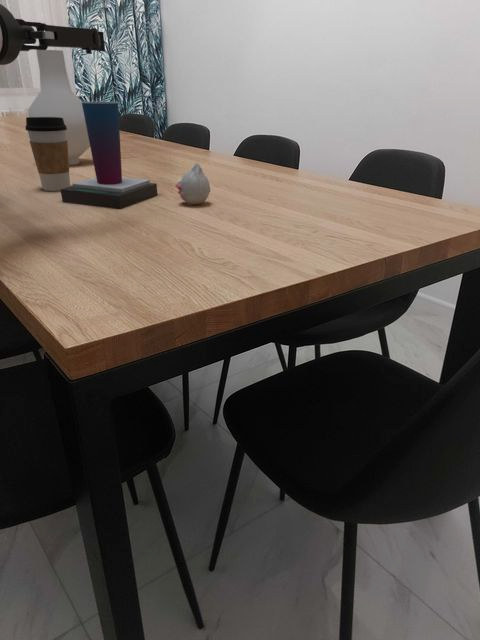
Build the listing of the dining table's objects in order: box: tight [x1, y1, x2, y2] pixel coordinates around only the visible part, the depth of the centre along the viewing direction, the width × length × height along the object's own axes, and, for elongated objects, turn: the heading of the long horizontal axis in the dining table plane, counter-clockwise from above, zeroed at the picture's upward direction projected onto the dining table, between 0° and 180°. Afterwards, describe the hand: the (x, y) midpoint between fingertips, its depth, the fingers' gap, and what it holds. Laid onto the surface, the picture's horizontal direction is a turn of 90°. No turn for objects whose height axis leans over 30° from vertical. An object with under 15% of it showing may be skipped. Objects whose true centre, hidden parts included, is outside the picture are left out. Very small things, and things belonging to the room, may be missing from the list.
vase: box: [27, 49, 90, 166], centre depth 137 cm, size 17×16×28 cm
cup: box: [82, 100, 123, 185], centre depth 101 cm, size 7×7×15 cm
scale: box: [60, 176, 158, 210], centre depth 106 cm, size 14×14×3 cm
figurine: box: [174, 162, 211, 205], centre depth 101 cm, size 6×7×8 cm
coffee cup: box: [24, 116, 71, 192], centre depth 110 cm, size 8×8×15 cm
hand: (64, 41), depth 84 cm, fingers open, 13 cm apart
